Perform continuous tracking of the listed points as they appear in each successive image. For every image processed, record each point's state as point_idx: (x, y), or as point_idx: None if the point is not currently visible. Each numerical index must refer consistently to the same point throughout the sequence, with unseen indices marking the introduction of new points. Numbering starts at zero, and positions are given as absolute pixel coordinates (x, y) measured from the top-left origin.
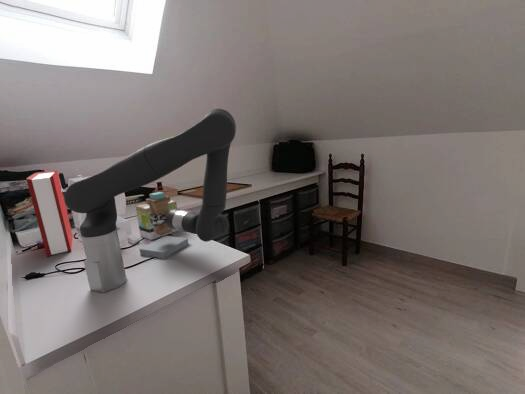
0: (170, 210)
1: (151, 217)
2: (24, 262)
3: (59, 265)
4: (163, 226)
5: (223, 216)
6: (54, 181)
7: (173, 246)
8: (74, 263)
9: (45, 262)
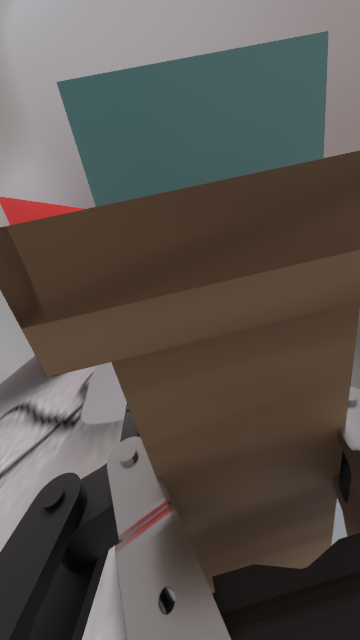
0: (356, 399)
1: (11, 564)
2: (23, 368)
3: (9, 414)
4: (236, 558)
5: None
6: (14, 214)
7: None
8: (21, 425)
9: (25, 385)
